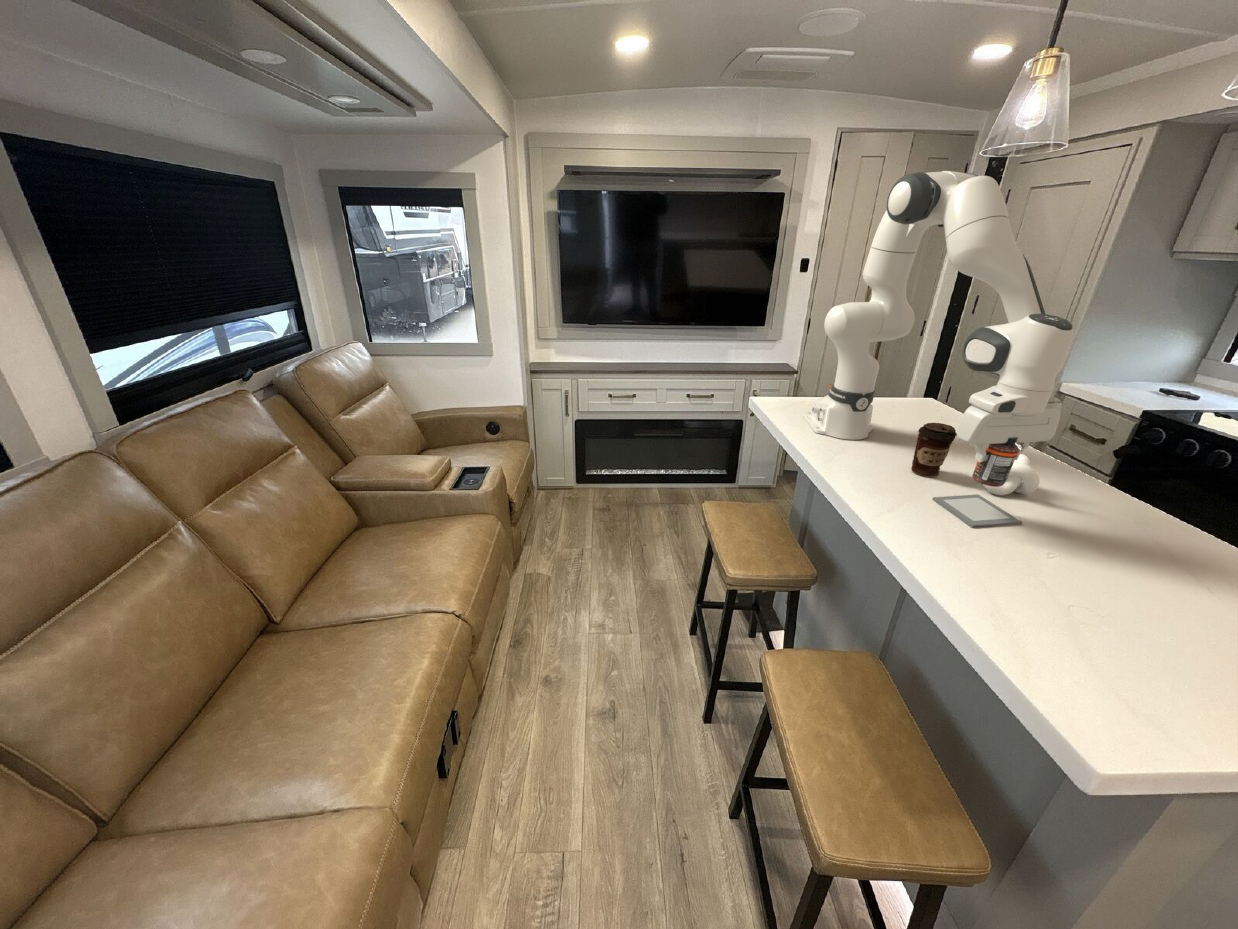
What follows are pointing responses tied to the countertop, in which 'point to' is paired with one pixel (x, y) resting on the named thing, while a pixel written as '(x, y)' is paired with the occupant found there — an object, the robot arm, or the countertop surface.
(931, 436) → the coffee cup
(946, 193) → the robot arm
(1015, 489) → the white decorative knot
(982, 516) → the coaster
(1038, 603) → the countertop surface
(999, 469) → the supplement bottle
